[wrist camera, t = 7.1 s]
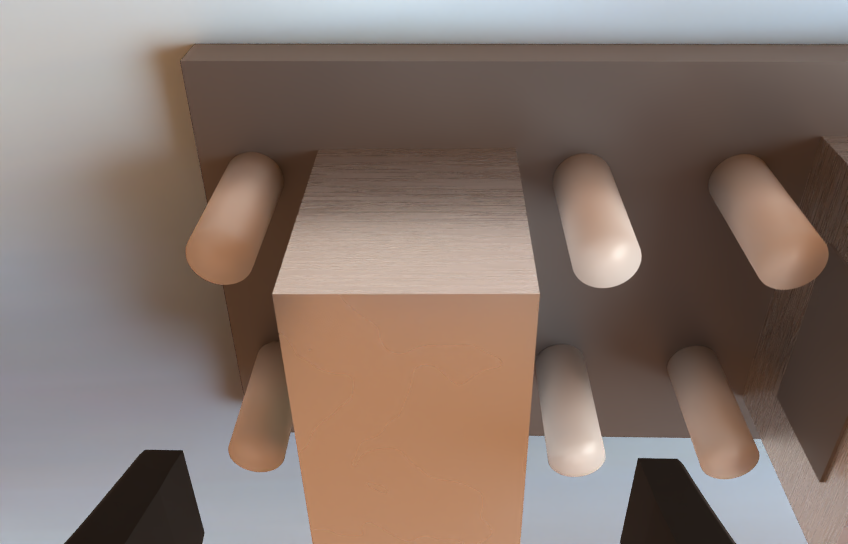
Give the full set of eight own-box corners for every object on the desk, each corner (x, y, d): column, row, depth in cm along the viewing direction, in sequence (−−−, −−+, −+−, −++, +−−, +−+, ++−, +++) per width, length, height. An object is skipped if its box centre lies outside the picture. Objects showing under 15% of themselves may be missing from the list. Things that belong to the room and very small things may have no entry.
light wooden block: (503, 401, 20) (517, 577, 15) (342, 400, 20) (314, 575, 16) (515, 148, 16) (539, 294, 11) (315, 149, 16) (267, 293, 12)
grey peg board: (961, 414, 21) (1059, 541, 17) (258, 405, 21) (223, 526, 18) (1159, 44, 15) (1359, 129, 12) (194, 44, 16) (126, 125, 12)
